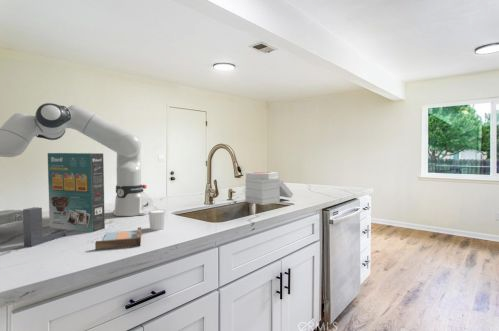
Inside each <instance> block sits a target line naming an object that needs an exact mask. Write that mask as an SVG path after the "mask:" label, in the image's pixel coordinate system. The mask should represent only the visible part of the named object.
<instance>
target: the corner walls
mask: <svg viewBox="0 0 499 331" xmlns="http://www.w3.org/2000/svg"><path fill="white" fill-rule="evenodd" d="M136 230H137V238H128V239H116V240H104V241H103V240H95V242H94V243H95V244H94V246H95V249H94V250H95V251H101V249H102V248H106V249H105V250H112V249H123V247H122V246H128V247H127V248H130V247H129V246H132V247H131V248H133V245H140V246H141V243H142V231H141V230H142V227H137V229H136ZM111 247H113V248H112V249H110V248H111ZM114 247H115V248H114ZM116 247H117V248H116ZM118 247H120V248H118ZM121 247H122V248H121ZM134 247H136V246H134ZM100 248H101V249H100ZM108 248H109V249H108ZM99 249H100V250H99ZM102 250H103V249H102Z"/></svg>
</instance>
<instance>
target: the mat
mask: <svg viewBox="0 0 499 331" xmlns="http://www.w3.org/2000/svg"><path fill="white" fill-rule="evenodd" d="M137 230H138V229H136V230H135V229H134V230H124V231H111V232H106V234H105V235H104V237H103V240H102V241H104V240H116V239H128V238H137ZM142 231H143V230H142V229H141V232H142ZM134 246H135V247H141V244H140V245H133V247H134ZM122 247H123V248H133V247H132V246H129V247H128V246H122ZM122 247H121V248H120V247H118V248H117V247H116V248H115V247H114V248H113V247H111V248H110V249H109V248H108V249H106V248H102V249H101V248H100V249H101V250H112V248H113V249H123V248H122ZM100 249H99V250H98V251H101V250H100Z"/></svg>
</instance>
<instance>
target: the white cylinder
mask: <svg viewBox="0 0 499 331" xmlns="http://www.w3.org/2000/svg"><path fill="white" fill-rule="evenodd" d="M148 219H149V228H150V230H151V231H162V230H164V229H166V222H167V221H166V220H167V210H166V209H157V210H152V211H149V213H148Z"/></svg>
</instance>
